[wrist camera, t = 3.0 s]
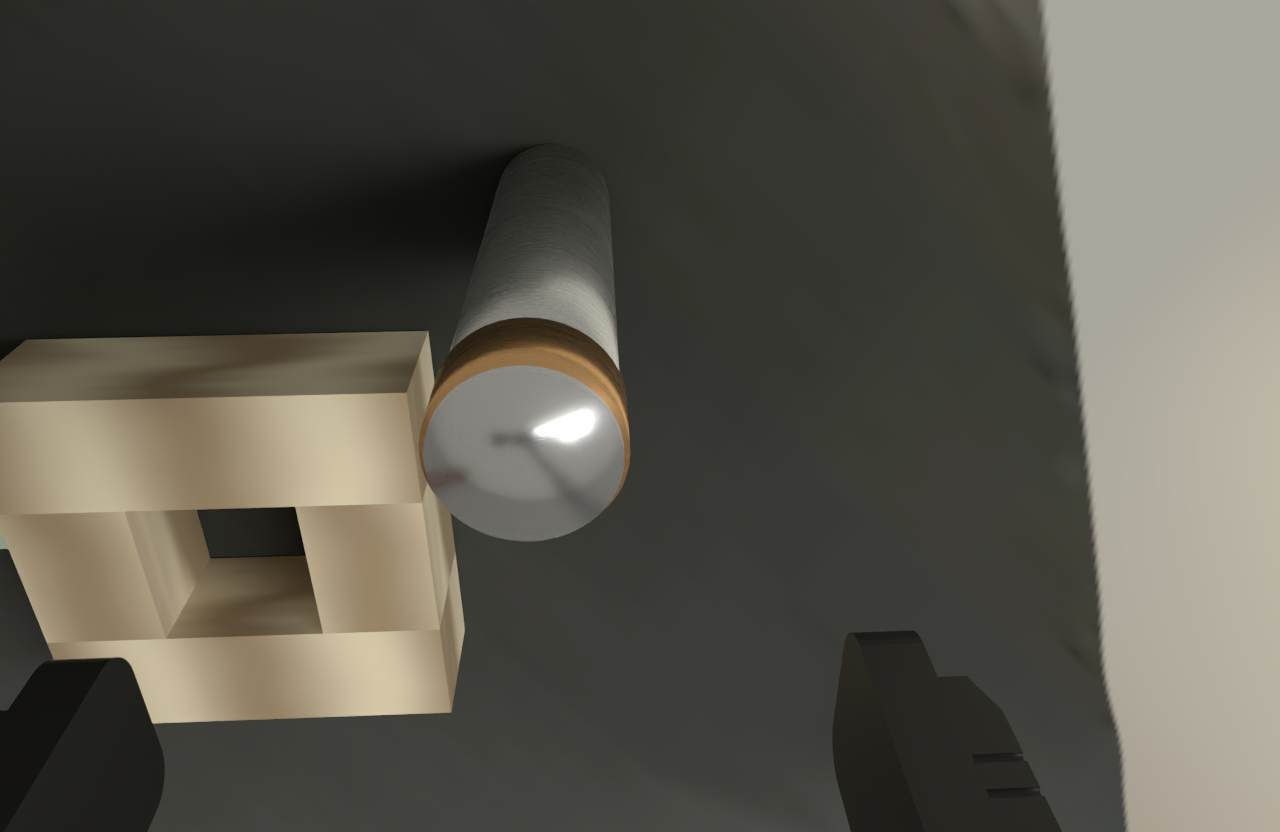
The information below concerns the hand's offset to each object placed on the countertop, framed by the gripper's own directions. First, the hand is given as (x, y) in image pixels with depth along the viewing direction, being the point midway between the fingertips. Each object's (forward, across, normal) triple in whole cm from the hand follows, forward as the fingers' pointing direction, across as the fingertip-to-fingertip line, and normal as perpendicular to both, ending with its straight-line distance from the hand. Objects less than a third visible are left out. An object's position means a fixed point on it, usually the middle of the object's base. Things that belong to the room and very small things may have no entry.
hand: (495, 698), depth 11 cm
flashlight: (+19, 0, 0) cm, 19 cm away
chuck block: (+19, +10, +10) cm, 24 cm away
